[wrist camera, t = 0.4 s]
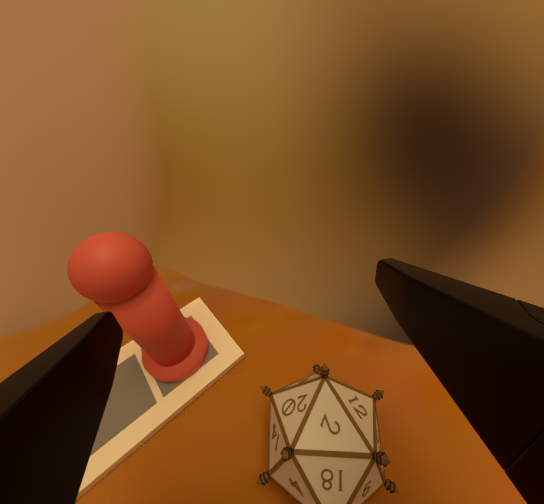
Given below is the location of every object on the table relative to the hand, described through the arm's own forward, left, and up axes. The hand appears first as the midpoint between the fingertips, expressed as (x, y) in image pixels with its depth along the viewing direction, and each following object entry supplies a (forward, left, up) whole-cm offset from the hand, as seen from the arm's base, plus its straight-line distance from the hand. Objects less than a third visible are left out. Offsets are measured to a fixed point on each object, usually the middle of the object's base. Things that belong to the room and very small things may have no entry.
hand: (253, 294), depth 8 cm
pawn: (+5, +9, -15) cm, 19 cm away
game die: (-2, -3, -17) cm, 17 cm away
